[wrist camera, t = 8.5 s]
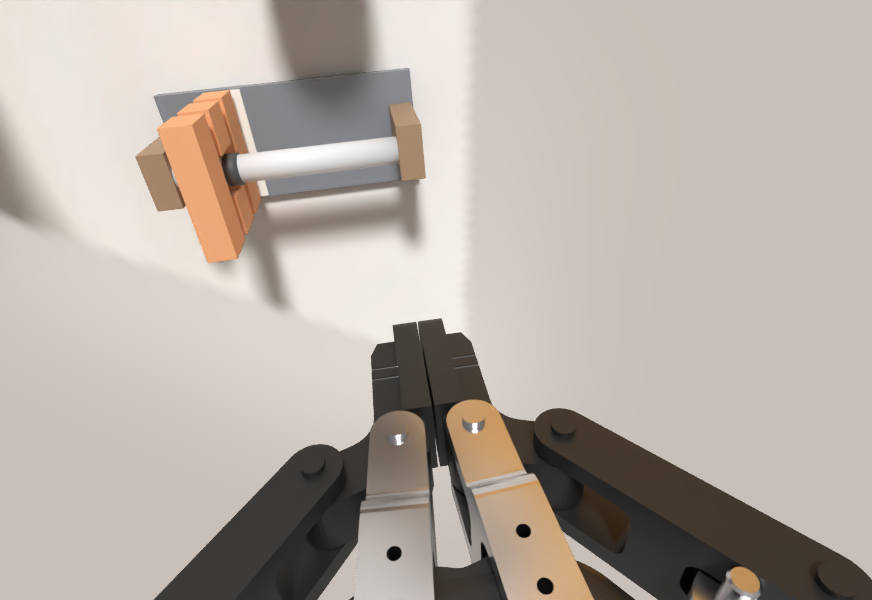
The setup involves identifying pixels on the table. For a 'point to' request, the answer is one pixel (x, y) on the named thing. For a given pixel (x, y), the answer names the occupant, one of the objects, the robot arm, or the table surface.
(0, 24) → the table surface
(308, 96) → the pipe stand
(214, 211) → the collar
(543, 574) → the robot arm
